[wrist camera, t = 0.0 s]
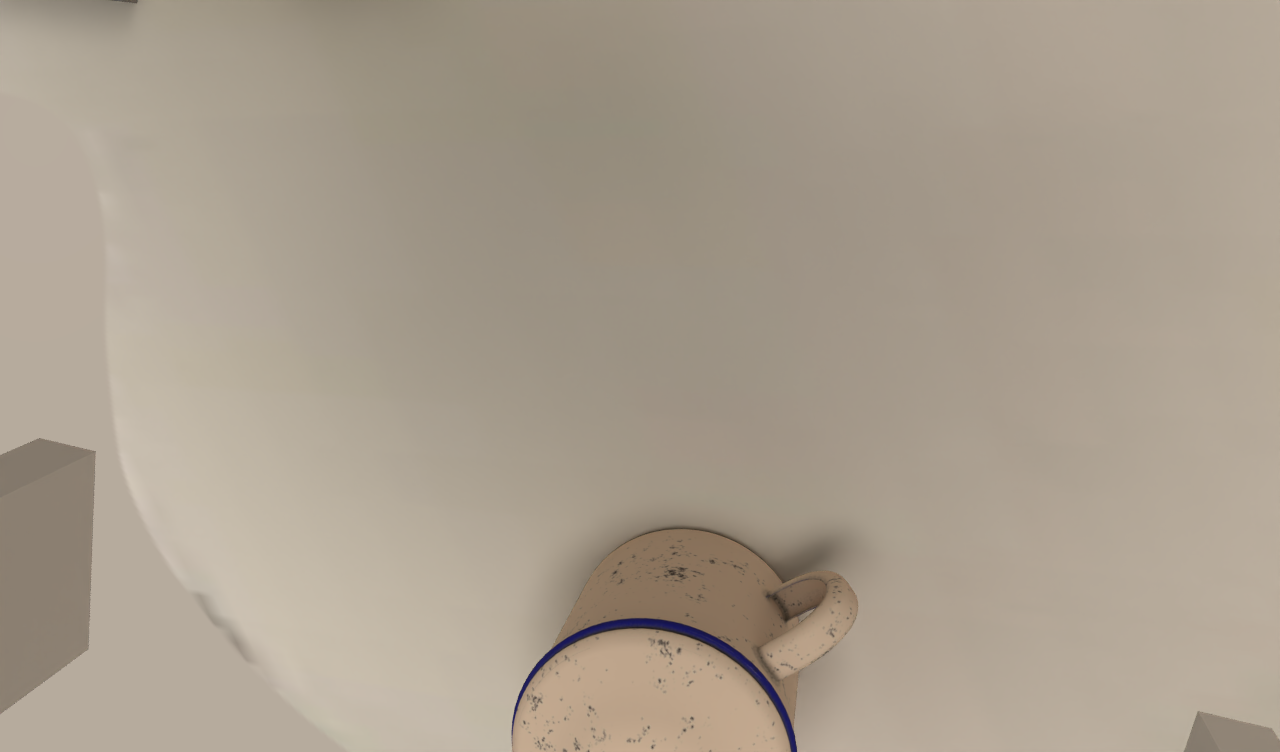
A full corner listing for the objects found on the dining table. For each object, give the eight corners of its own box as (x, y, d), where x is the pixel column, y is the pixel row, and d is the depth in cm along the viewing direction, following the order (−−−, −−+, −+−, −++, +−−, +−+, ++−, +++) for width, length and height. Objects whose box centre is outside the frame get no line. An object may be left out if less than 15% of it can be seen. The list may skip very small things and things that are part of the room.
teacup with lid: (662, 773, 46) (601, 994, 34) (528, 594, 45) (420, 761, 34) (922, 631, 42) (946, 826, 31) (781, 433, 41) (755, 561, 30)
